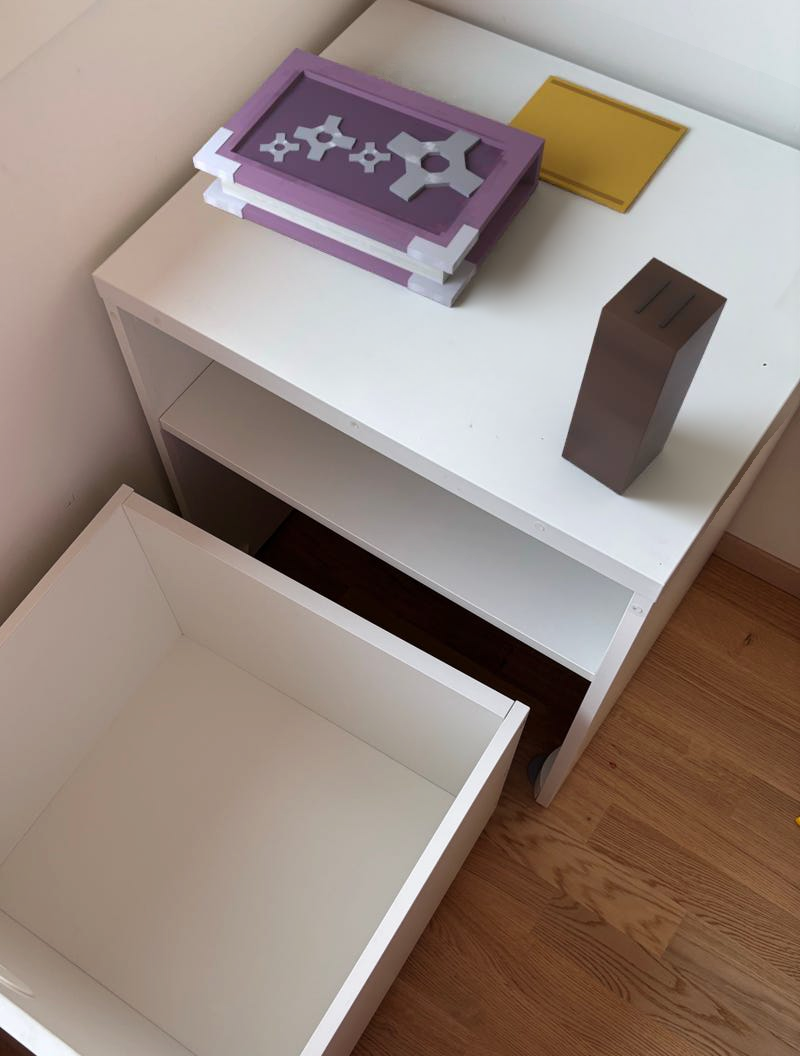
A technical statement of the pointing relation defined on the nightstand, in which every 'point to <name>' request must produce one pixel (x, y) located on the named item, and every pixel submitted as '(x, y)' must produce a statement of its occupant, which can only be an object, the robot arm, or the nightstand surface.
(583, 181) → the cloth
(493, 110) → the nightstand surface
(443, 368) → the nightstand surface
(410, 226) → the book
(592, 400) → the knife block
